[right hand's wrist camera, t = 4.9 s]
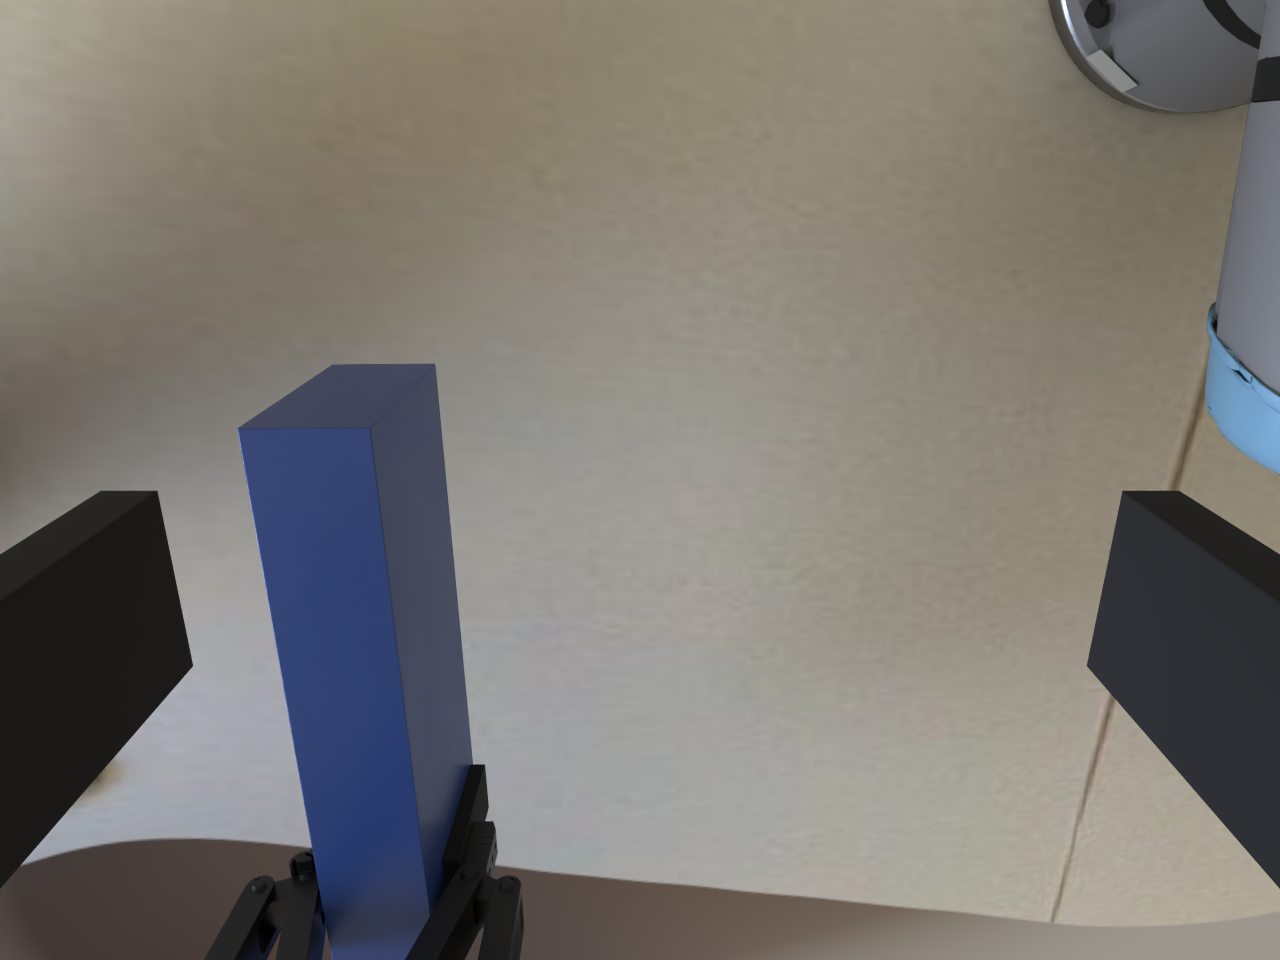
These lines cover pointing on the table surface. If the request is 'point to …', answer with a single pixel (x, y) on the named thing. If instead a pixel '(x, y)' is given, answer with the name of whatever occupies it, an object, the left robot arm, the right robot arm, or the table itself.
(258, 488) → the bar
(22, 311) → the table surface
